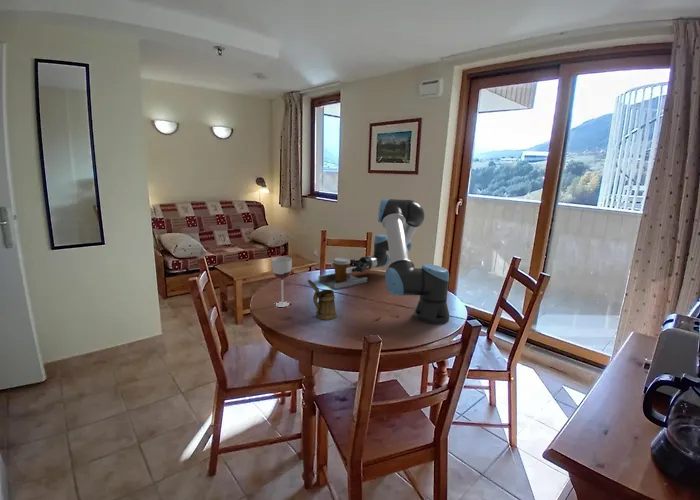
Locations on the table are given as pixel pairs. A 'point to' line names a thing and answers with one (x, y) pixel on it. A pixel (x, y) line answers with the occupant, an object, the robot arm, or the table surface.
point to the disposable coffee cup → (341, 268)
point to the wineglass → (282, 273)
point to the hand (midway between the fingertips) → (338, 267)
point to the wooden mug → (324, 303)
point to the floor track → (333, 283)
